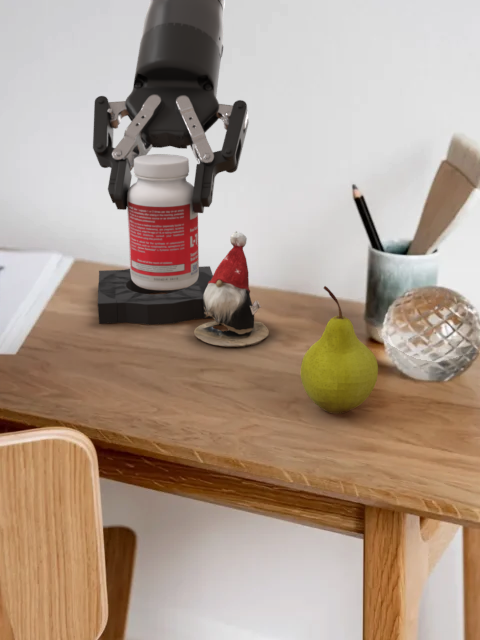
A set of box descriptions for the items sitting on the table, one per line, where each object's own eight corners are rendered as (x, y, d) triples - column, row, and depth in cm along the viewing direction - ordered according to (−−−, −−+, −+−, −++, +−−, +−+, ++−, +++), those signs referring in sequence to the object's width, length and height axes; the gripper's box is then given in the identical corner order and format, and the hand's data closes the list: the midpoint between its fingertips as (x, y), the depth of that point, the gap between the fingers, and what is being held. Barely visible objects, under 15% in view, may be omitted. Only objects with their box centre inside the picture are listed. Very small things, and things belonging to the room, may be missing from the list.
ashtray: (98, 327, 95) (97, 306, 94) (100, 286, 108) (99, 268, 107) (222, 321, 97) (222, 301, 96) (209, 282, 110) (209, 263, 109)
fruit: (366, 390, 81) (374, 271, 76) (383, 424, 75) (393, 297, 70) (295, 393, 80) (298, 273, 75) (306, 427, 74) (311, 299, 69)
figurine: (197, 326, 85) (192, 229, 91) (195, 369, 94) (190, 279, 100) (277, 324, 86) (268, 228, 92) (268, 367, 95) (260, 278, 101)
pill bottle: (204, 290, 74) (202, 164, 70) (134, 294, 73) (128, 166, 69) (192, 268, 80) (190, 150, 75) (127, 272, 79) (122, 152, 74)
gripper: (95, 18, 75) (64, 179, 69) (255, 21, 74) (238, 186, 68) (113, 74, 82) (87, 225, 76) (260, 78, 81) (245, 232, 75)
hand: (158, 206), depth 72 cm, fingers closed on pill bottle, 6 cm apart
